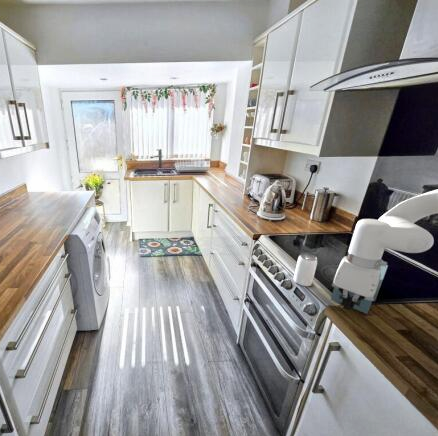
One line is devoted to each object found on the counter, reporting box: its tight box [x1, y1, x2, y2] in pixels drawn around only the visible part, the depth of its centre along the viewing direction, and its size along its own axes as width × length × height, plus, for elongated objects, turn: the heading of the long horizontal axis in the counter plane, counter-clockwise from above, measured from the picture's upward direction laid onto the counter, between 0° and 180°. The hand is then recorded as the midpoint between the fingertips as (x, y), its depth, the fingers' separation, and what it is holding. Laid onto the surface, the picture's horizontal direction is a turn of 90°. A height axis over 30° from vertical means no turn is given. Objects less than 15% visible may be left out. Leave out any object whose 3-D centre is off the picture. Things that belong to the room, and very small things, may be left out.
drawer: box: [330, 287, 373, 315], centre depth 85 cm, size 17×10×8 cm, turn 131°
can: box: [293, 252, 318, 287], centre depth 96 cm, size 6×6×12 cm
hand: (346, 307), depth 79 cm, fingers closed
